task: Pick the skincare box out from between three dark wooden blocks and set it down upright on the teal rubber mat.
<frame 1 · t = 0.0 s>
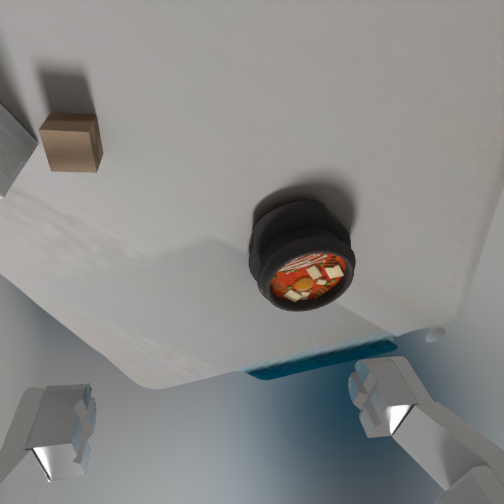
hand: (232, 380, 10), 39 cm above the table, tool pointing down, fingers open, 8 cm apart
walnut block: (78, 133, 42), on the table
skincare box: (6, 129, 41), on the table
casserole: (297, 249, 62), on the table
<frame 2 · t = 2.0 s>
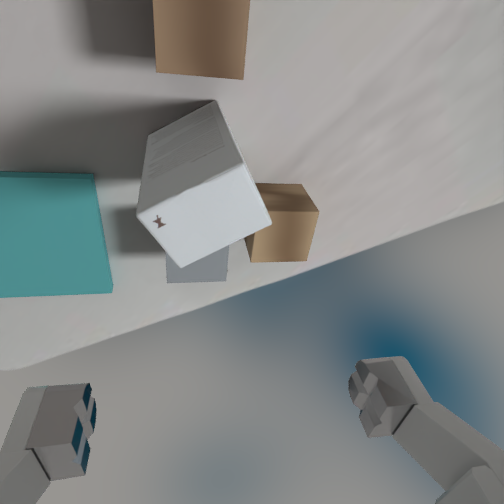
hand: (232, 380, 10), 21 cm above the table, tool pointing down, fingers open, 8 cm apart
slate grey block: (194, 226, 32), on the table
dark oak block: (270, 207, 32), on the table
walnut block: (197, 18, 22), on the table
teal mat: (29, 237, 29), on the table
skincare box: (195, 140, 27), on the table
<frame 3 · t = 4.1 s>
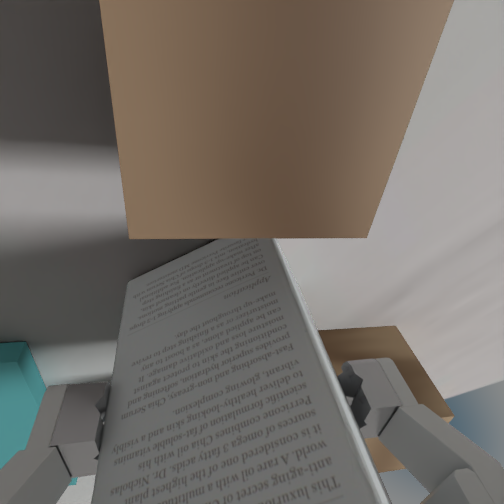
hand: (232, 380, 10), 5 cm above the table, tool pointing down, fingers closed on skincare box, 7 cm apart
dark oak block: (339, 357, 19), on the table
walnut block: (235, 63, 10), on the table
skincare box: (219, 278, 14), on the table, touching gripper
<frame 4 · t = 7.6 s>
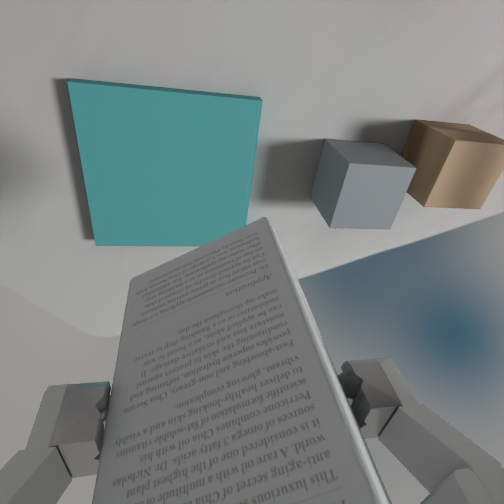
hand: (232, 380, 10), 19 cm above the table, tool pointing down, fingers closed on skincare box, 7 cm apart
slate grey block: (345, 170, 28), on the table
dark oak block: (429, 152, 29), on the table
teal mat: (171, 174, 26), on the table
skincare box: (221, 276, 14), point 14 cm above the table, touching gripper
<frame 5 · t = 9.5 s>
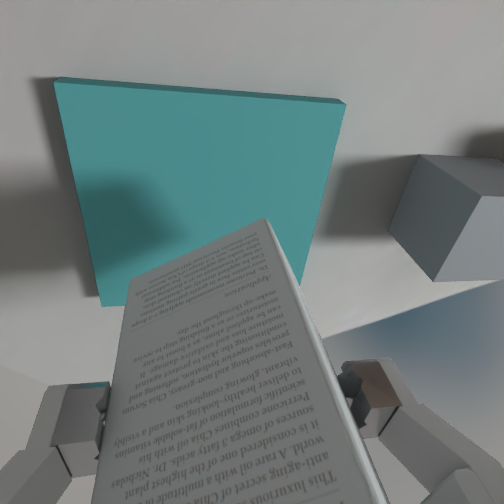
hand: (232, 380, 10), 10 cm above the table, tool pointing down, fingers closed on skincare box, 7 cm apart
slate grey block: (437, 195, 21), on the table
teal mat: (206, 209, 18), on the table
skincare box: (221, 277, 14), point 5 cm above the table, touching gripper
when the fingers open (7 cm above the table, at t = 11.2 s): skincare box drops 1 cm, resting on teal mat.
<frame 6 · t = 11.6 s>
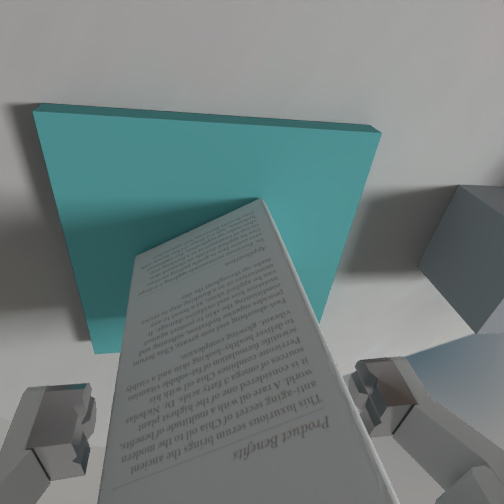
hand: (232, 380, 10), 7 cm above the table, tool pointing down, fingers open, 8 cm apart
slate grey block: (475, 228, 18), on the table
teal mat: (214, 247, 16), on the table
skincare box: (220, 256, 15), point 1 cm above the table, touching teal mat
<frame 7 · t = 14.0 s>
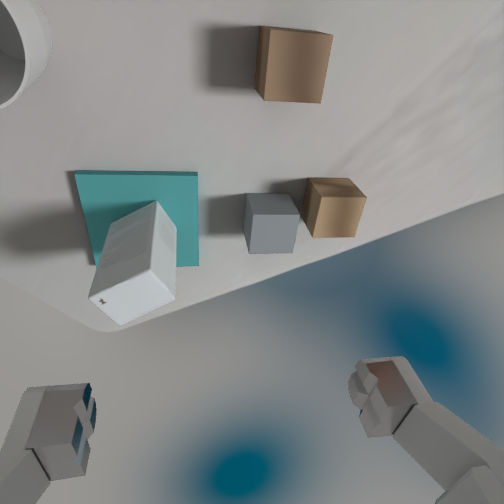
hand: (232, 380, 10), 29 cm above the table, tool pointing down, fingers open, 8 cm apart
cup: (17, 26, 27), on the table
slate grey block: (265, 212, 41), on the table
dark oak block: (324, 197, 41), on the table
walnut block: (283, 60, 32), on the table
teal mat: (144, 221, 39), on the table
skincare box: (145, 224, 38), point 1 cm above the table, touching teal mat
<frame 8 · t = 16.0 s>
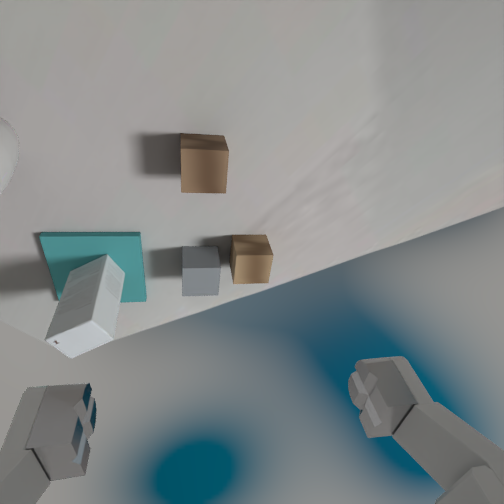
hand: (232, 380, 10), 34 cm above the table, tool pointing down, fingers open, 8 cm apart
slate grey block: (199, 259, 50), on the table
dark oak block: (247, 248, 51), on the table
walnut block: (201, 155, 41), on the table
teal mat: (99, 267, 48), on the table
skincare box: (99, 270, 47), point 1 cm above the table, touching teal mat
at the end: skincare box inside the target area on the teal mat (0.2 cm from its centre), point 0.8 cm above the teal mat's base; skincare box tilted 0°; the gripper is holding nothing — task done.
